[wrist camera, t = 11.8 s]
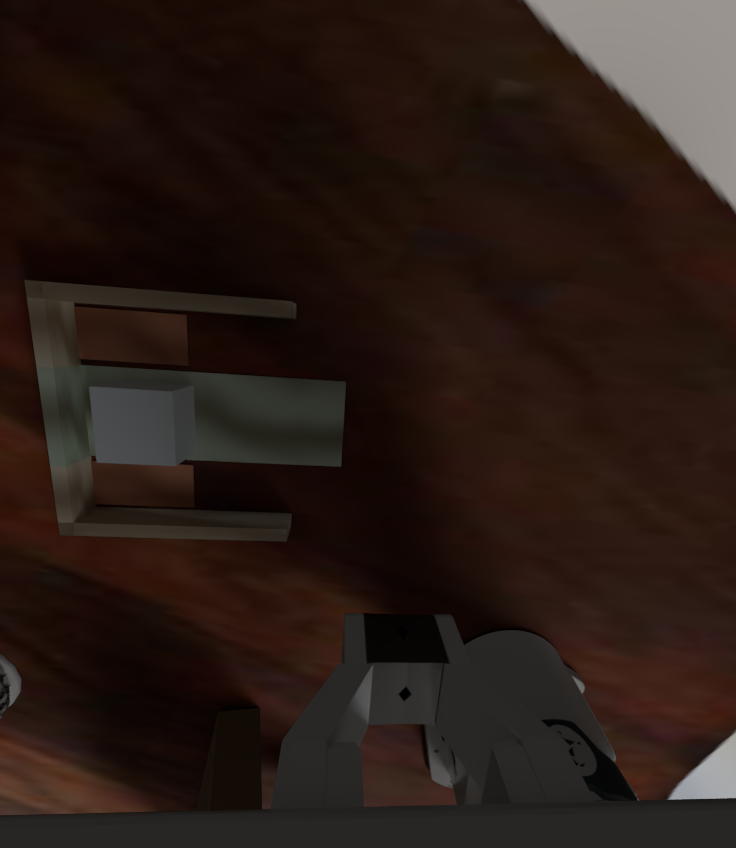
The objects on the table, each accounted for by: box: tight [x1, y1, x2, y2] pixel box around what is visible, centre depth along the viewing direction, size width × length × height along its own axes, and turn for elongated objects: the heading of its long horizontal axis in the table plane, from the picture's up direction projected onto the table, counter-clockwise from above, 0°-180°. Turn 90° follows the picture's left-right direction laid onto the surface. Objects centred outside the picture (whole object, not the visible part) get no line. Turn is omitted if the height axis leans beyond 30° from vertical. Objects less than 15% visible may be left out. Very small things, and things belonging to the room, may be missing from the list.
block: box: [89, 380, 196, 466], centre depth 30 cm, size 6×6×4 cm
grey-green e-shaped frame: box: [24, 280, 346, 542], centre depth 31 cm, size 20×24×3 cm
